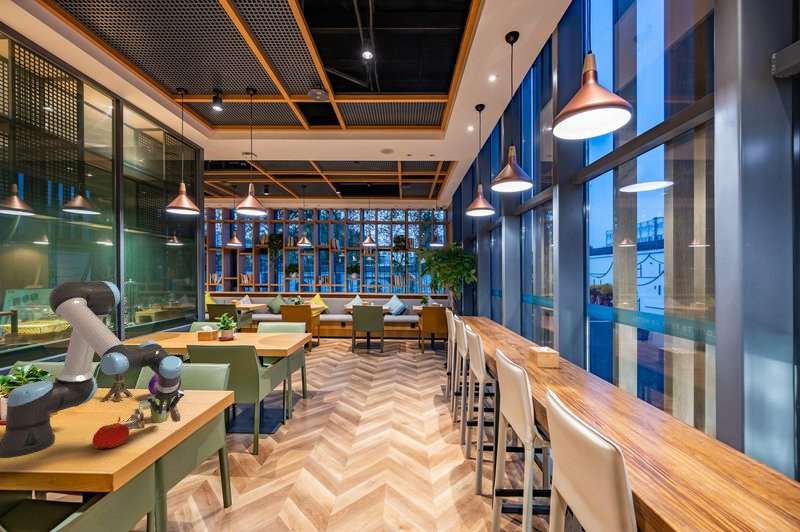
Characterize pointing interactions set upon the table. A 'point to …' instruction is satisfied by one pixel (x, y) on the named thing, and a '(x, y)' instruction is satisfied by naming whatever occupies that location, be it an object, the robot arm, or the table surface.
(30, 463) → the table surface
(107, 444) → the tomato
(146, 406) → the grey and wooden pieces
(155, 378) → the decorative orb
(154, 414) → the plant pot
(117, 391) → the eiffel tower
